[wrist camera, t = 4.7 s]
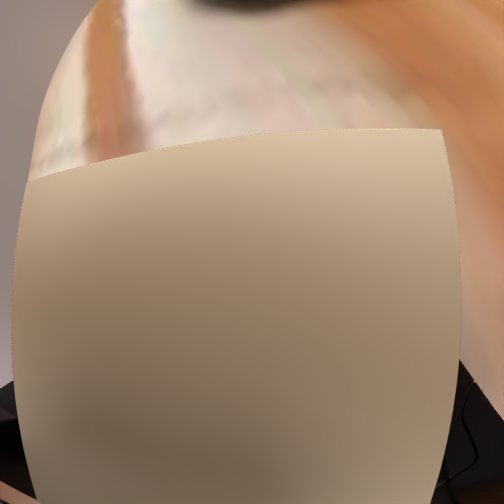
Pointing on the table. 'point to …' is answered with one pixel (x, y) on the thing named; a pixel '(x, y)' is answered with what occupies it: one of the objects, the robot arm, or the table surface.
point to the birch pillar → (241, 322)
